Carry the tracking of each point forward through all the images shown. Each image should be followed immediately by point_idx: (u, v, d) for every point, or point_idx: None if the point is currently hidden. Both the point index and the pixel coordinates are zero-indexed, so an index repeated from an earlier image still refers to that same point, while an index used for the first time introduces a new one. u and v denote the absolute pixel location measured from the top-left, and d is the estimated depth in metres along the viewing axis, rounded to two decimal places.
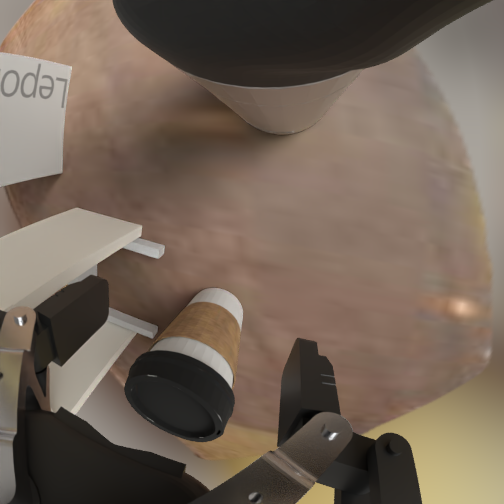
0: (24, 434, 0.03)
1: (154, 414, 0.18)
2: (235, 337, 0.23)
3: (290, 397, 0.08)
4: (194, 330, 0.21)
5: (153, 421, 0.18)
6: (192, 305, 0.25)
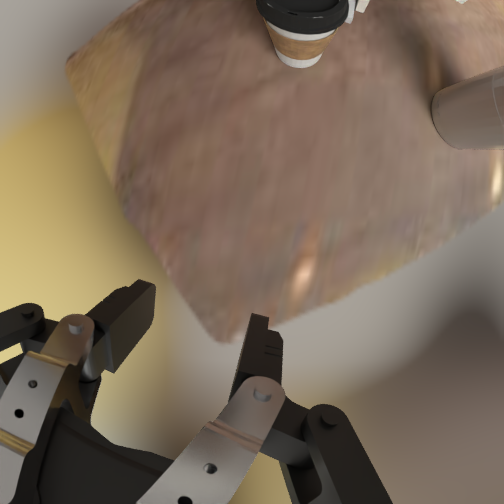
0: (24, 434, 0.03)
1: None
2: (314, 51, 0.23)
3: (238, 366, 0.09)
4: None
5: None
6: None
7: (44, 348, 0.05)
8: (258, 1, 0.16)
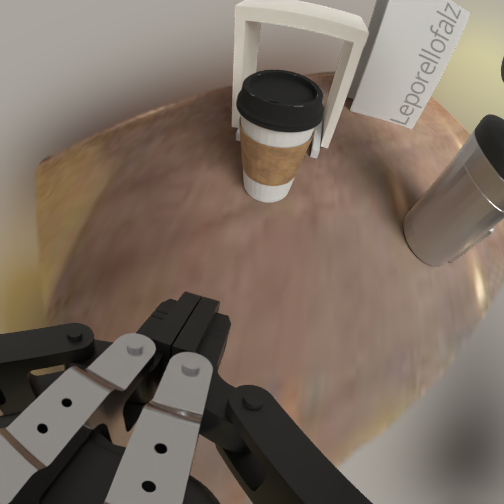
0: (24, 434, 0.03)
1: (258, 79, 0.23)
2: (287, 170, 0.28)
3: None
4: None
5: (256, 75, 0.22)
6: None
7: (92, 364, 0.06)
8: (239, 99, 0.22)
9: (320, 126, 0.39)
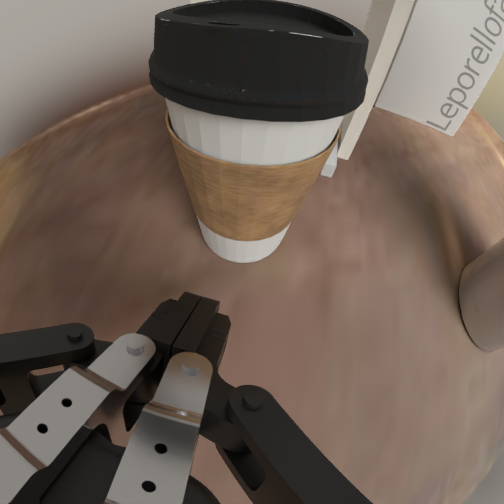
0: (24, 434, 0.03)
1: (211, 13, 0.08)
2: (275, 215, 0.13)
3: None
4: None
5: (207, 3, 0.08)
6: None
7: (92, 364, 0.06)
8: (153, 51, 0.07)
9: None
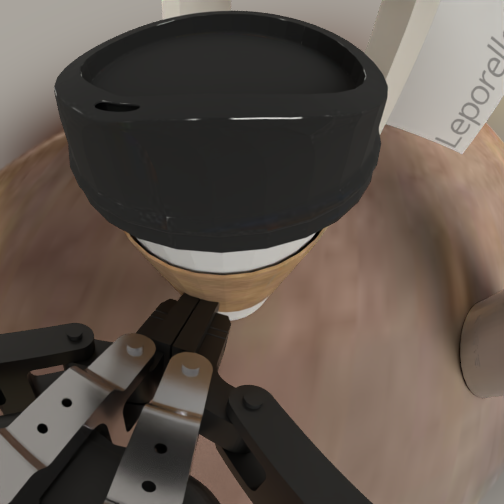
0: (24, 434, 0.03)
1: (165, 39, 0.06)
2: (253, 298, 0.11)
3: None
4: None
5: (156, 25, 0.06)
6: None
7: (92, 364, 0.06)
8: None
9: None
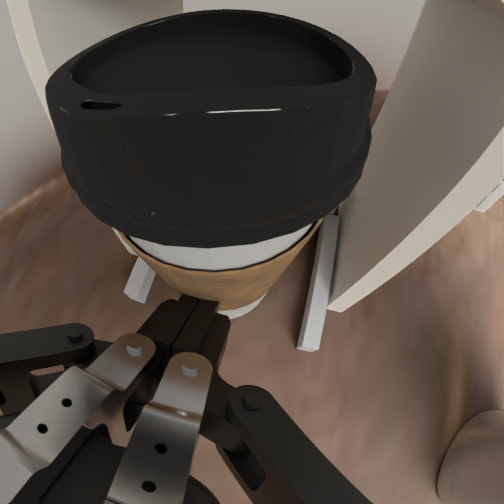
0: (24, 434, 0.03)
1: (156, 38, 0.06)
2: (247, 296, 0.11)
3: None
4: None
5: (147, 26, 0.06)
6: None
7: (92, 364, 0.06)
8: None
9: (331, 256, 0.17)
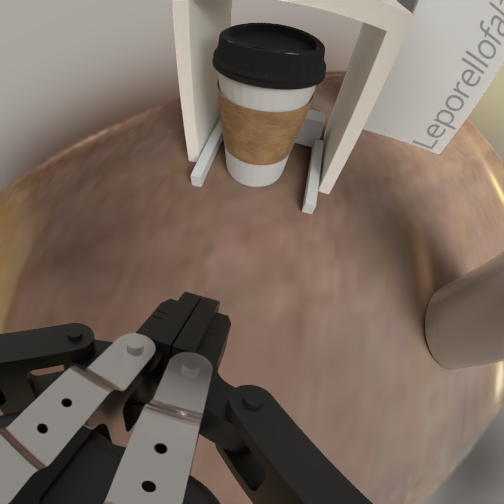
0: (24, 434, 0.03)
1: (242, 32, 0.16)
2: (278, 144, 0.21)
3: None
4: None
5: (240, 27, 0.15)
6: None
7: (92, 364, 0.06)
8: (215, 53, 0.15)
9: (319, 160, 0.27)
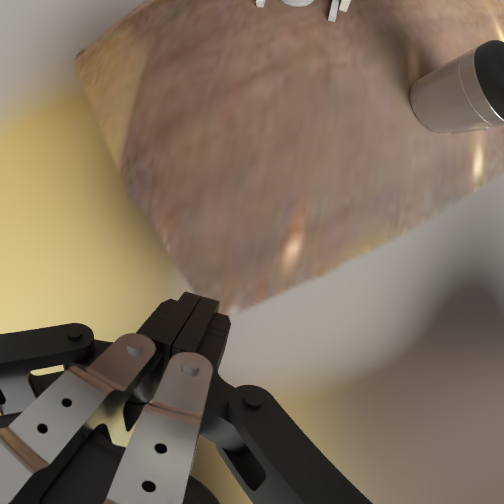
0: (24, 434, 0.03)
1: None
2: None
3: None
4: None
5: None
6: None
7: (92, 364, 0.06)
8: None
9: None
